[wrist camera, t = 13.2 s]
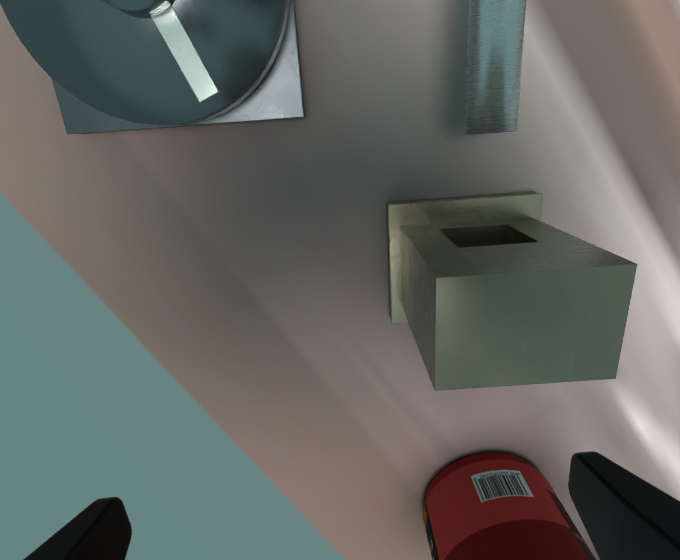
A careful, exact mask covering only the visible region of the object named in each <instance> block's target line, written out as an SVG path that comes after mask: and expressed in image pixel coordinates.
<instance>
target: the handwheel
mask: <svg viewBox="0 0 680 560" xmlns="http://www.w3.org/2000/svg"><path fill="white" fill-rule="evenodd" d="M0 4H1V6H2V8H3V10H4V12H5V14H6V16H7V18H8V20H9V22H10V24H11V26H12V27H13V29H14V31H15V32H16V34H17V36H18V37H19V39H20V41H21V42H22V43H23V45H24V46H25V47H26V49H27V50H28V51H29V53H30V54H31V55H32V57H33V58H34V59H35V61H36V62H37V63H38V64H39V65H40V66H41V67H42V68H43V69H44V70H45V71H46V72H47V74H48V75H49V76H50V77H52V78H53V79H54V80H55V81H56V82H57V83H58V84H59V85H61V86H62V87H63V88H64V89H65V90H67V91H68V92H69V93H71V94H72V95H74V96H75V97H76V98H78V99H79V100H81V101H82V102H84V103H86V104H88V105H89V106H91V107H93V108H95V109H97V110H99V111H101V112H103V113H106V114H108V115H111V116H113V117H116V118H119V119H123V120H126V121H130V122H134V123H141V124H149V125H187V124H194V123H199V122H203V121H206V120H209V119H213V118H215V117H217V116H219V115H221V114H223V113H226V112H227V111H229V110H231V109H232V108H234V107H235V106H237V105H238V104H240V103H241V102H242V101H243V100H244V99H245V98H246V97H247V96H249V95H250V94H251V93H252V92H253V91H254V90H255V88H256V87H257V86H258V85H259V84H260V82H261V81H262V80H263V79H264V77H265V75H266V74H267V72H268V71H269V69H270V67H271V66H272V64H273V62H274V60H275V57H276V55H277V53H278V51H279V49H280V45H281V42H282V39H283V36H284V33H285V29H286V23H287V18H288V13H289V0H0Z"/></svg>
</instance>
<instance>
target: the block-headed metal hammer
mask: <svg viewBox="0 0 680 560" xmlns="http://www.w3.org/2000/svg"><path fill="white" fill-rule="evenodd" d="M525 9H526V0H469V18H468V49H467V79H466V109H465V134H483V133H499V132H511V131H517V117H518V104H519V90H520V77H521V63H522V49H523V36H524V22H525Z"/></svg>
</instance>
